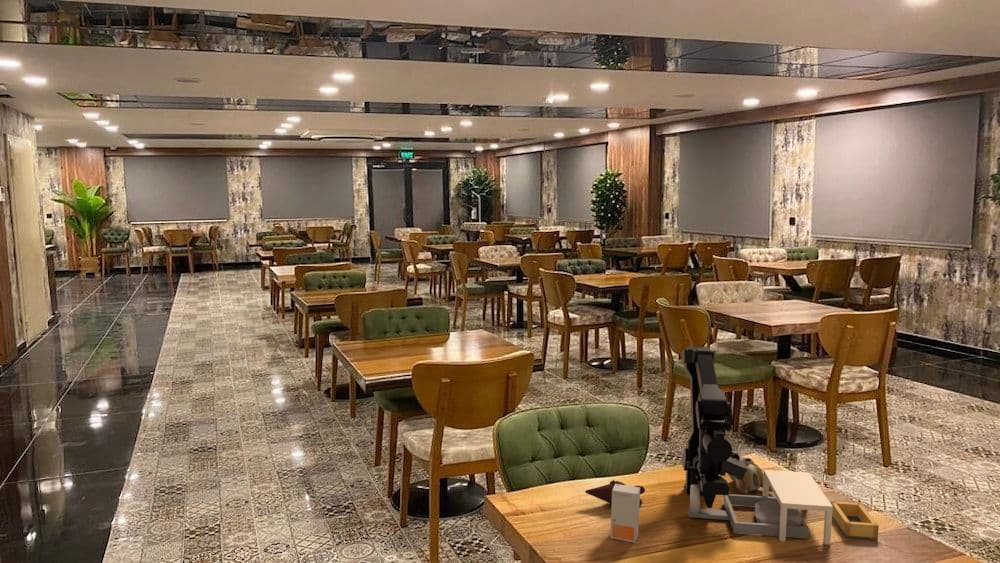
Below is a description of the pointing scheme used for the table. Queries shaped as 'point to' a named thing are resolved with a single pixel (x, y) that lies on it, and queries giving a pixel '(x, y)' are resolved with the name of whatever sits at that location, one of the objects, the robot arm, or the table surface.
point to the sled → (743, 526)
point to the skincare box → (625, 513)
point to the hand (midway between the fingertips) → (709, 507)
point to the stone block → (775, 514)
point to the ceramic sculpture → (750, 477)
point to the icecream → (608, 491)
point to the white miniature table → (797, 497)
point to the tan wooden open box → (854, 521)
